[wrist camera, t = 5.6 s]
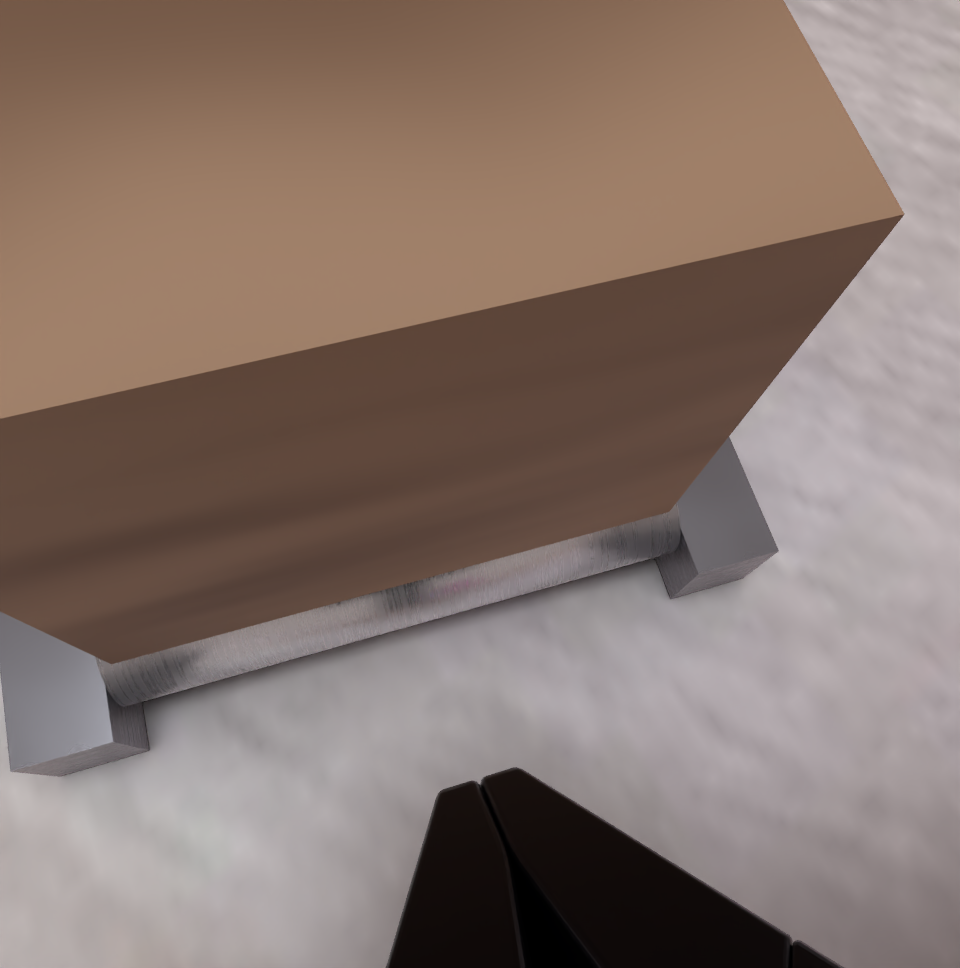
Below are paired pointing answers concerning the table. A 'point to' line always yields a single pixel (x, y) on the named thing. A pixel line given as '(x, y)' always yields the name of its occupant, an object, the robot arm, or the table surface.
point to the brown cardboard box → (387, 286)
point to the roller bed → (354, 623)
